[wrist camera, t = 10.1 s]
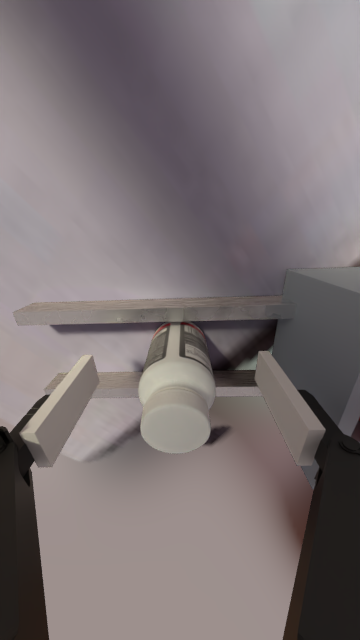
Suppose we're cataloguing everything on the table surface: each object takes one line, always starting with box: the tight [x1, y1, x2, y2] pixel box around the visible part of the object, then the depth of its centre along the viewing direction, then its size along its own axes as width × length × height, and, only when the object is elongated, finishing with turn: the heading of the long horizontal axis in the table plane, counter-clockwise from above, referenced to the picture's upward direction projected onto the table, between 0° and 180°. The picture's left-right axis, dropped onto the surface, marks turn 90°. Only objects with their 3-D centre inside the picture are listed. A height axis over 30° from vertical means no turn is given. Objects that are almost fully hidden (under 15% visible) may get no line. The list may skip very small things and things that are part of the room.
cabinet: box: [272, 267, 360, 489], centre depth 15 cm, size 6×14×9 cm, turn 2°
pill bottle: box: [138, 321, 216, 454], centre depth 15 cm, size 5×5×10 cm
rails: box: [13, 295, 297, 398], centre depth 19 cm, size 23×9×2 cm, turn 92°
